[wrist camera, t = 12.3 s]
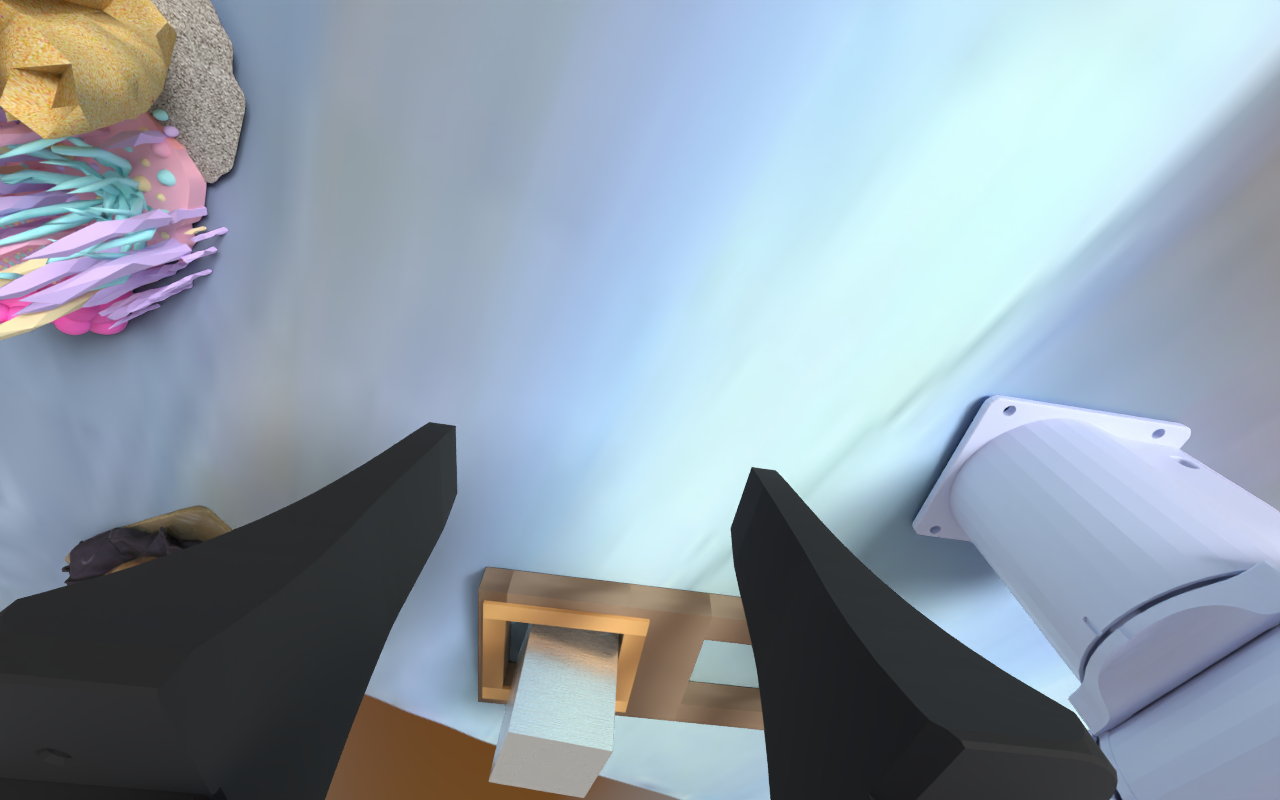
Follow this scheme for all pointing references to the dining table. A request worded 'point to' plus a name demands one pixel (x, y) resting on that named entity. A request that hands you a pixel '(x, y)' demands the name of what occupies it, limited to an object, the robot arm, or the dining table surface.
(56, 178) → the candy landscape model
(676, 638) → the wooden board with holes
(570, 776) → the light grey block
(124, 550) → the bread roll
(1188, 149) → the dining table surface
